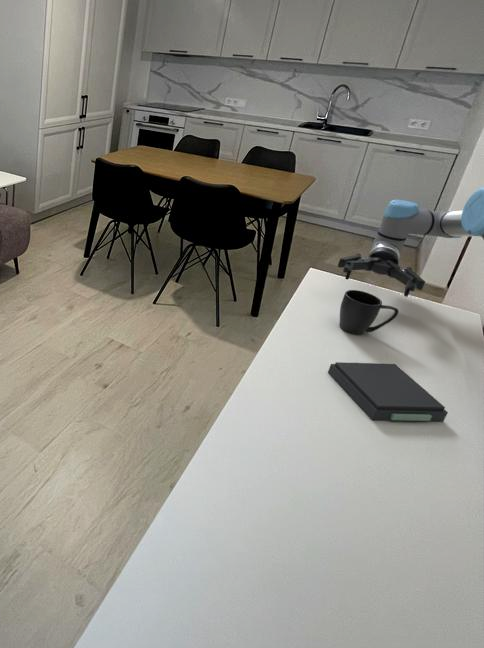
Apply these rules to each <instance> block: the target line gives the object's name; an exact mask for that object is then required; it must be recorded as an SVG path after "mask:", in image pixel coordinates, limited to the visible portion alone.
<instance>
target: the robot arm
mask: <svg viewBox="0 0 484 648" xmlns="http://www.w3.org/2000/svg"><path fill="white" fill-rule="evenodd" d="M409 234H411V235H420V236H430V237H438V238H443V239H444V238H445V239H461V238H463V237H481V238H482V239H483V240H484V186H482V187H480V188H478V189H477V190H476V191H474V192H473V193H472V194H471V195H470V196H469V198H468V199H467V200H466V202H465V204H464V207H463V209H461V210H451V211H449V210H448V211H437V210H426V209H419V205H418V204H417V203H415V202H413V201H409V200H404V199H393V200H390V202H389V203H388V204H387V207H386V209H385V210H384V213H383V215H382V219H381V222H380V226H379V228H378V230H377V232H376V235H375V237H374V240H373V243H372V244H371V249H370V251H369V254H368V257H366V258H365V257H363V256H362V254H360V253H356V254H355V255H351V256H346V257H340V258H339V261H338V264H337V267H338V268H342V271H343V273H346V275H345V280H347V281H349V279H350V276H351V274H352V271H366V272H373V273H374V274H377V275H382V276H383V275H384V276H385V275H386V276H388V277H389V278H390V279H395V280H397V281H398V282H400V283H401V284H403V285H404V292H403V296H404V297H406V298H408V297H409V294H410V293H411V292H415V290H419V291H422V290H423V288H424V286H425V284H426V281H425V280H424V279H423V278H422V277H420V276H419V275H418V273H416V272H415V271H414V270H413V268H412V267H410V266H406V267H404V268H403V267H401V266H400V265H399V263H400V257H401V253H402V251H403V248H404V246H405V243H406V241H407V239H408V236H409Z"/></svg>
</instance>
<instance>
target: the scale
mask: <svg viewBox="0 0 484 648" xmlns="http://www.w3.org/2000/svg"><path fill="white" fill-rule="evenodd" d="M327 373H328V374H329V375H330V377H331V378H333V380H334V381H335V382H336V383H337V384H338V385H339V386H340V387H341V389H343V391H344V392H345V393H346V394H347V395H348V396H349V397H350V398H351V399H352V400H353V401H354V402H355V404H356V405H357V406H359V408H360V409H361V410H362V411H363V412H364V413H365V415H367V416H368V418H369V419H371V420H372V421H393V422H395V421H396V422H397V421H398V422H403V421H404V422H442V423H443V422H445V419H446V417H447V415H448V413H449V412H448V411H447V410H446V406H444V405H443V404H442V403H441V402H439V401H438V400H437V399H436V398H435V397H434V396H433V395H432V394H430V393H429V392H428V391H427V390H426V389H425V388H423V386H422V385H420V384H419V383H418V382H416V381H415V380H414V379H413V378H412V377H411V376H410V375H408V374H407V373H406V372H405V370H403V369H402V368H401V367H399V365H397V364H396V363H378V362H376V363H373V362H342V361H341V362H338V361H337V362H335V363H330V365H329V367H328V370H327Z"/></svg>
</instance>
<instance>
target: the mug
mask: <svg viewBox="0 0 484 648" xmlns="http://www.w3.org/2000/svg"><path fill="white" fill-rule="evenodd" d="M381 309H386V310H392V311H393V314H392V315H391V316H390V317H388V318H387V319H386V320H384V321H383V322H381V323H379V324H377V325H374V326H371V325H372V324H373V323H374V321H375V320H376V318H377V317H378V315H379V314H380V310H381ZM398 314H399V309H398V308H397V307H395V306H391V305H385V304H383V302H382V300H381V299H380V297H378V296H377V295H374V294H372V293H369V292H367V291H363V290H359V289H358V290H357V289H349V290H346V291H345V292H344V294H343V297H342V300H341V303H340V308H339V328H340V329H341V330H342V331H344V332H346V333H348V334H350V335H354V336H362V335H364V334H365V333H373V332H375V331H377V330H380V328H382V327H384V326H385V325H387V324H389V323H390V322H392V321H393V320H395V319H396V318H397V316H398Z"/></svg>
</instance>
